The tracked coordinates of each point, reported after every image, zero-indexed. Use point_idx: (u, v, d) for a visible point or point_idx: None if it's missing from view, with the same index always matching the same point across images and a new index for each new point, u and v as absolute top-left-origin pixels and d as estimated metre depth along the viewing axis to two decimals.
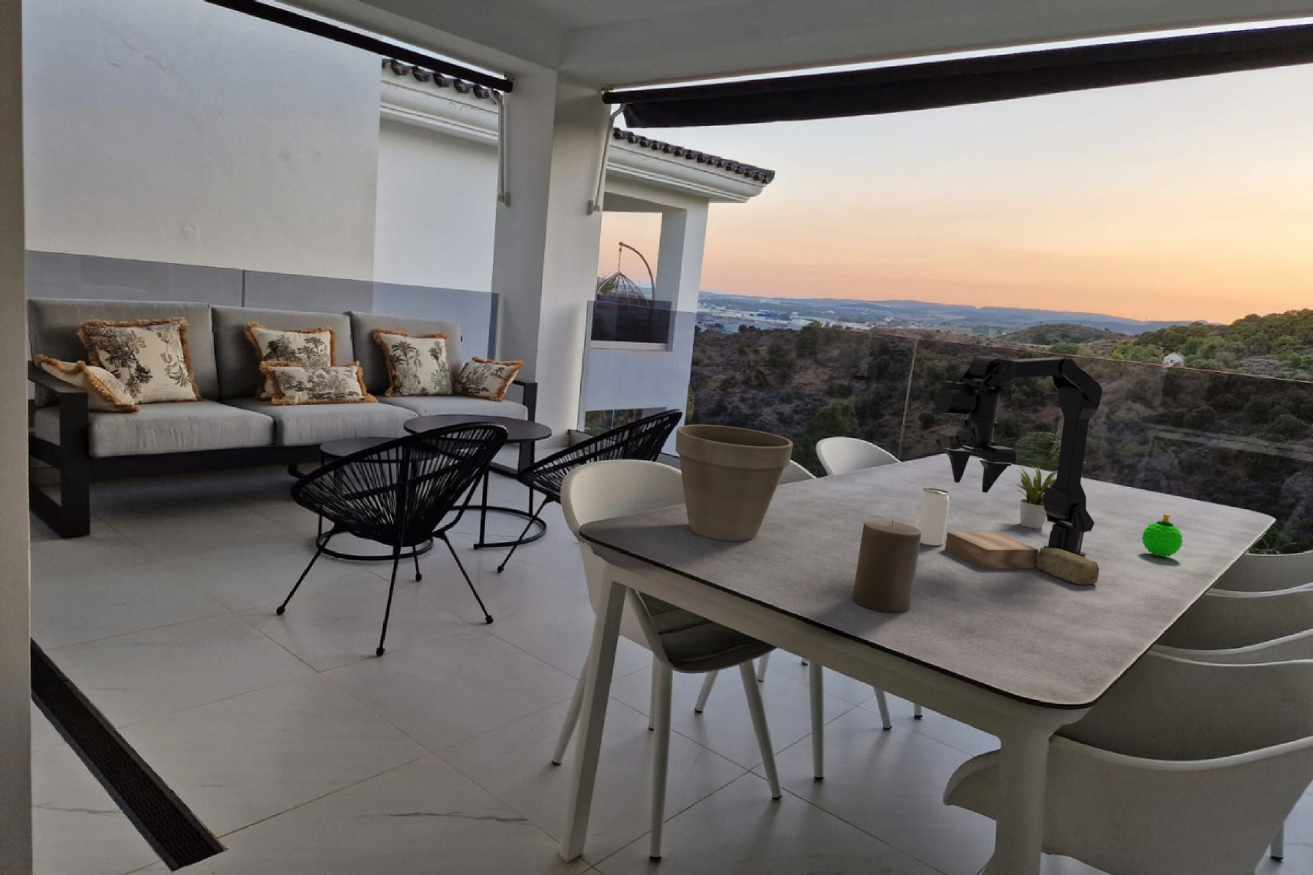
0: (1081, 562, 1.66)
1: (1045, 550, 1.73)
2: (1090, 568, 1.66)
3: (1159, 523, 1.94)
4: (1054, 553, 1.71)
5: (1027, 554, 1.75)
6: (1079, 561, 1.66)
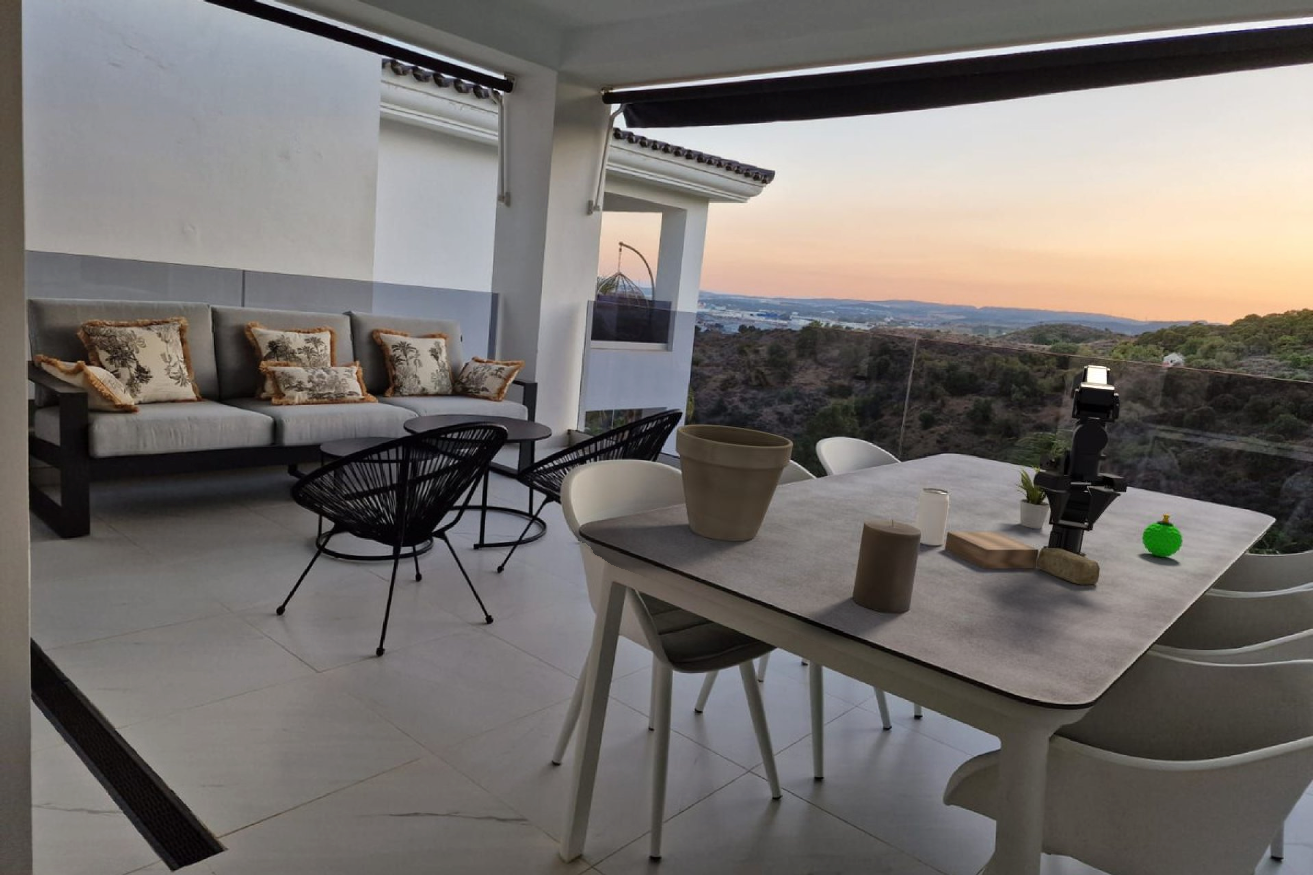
0: (1081, 562, 1.66)
1: (1046, 550, 1.73)
2: (1090, 568, 1.66)
3: (1159, 523, 1.94)
4: (1055, 553, 1.71)
5: (1027, 554, 1.75)
6: (1079, 561, 1.66)
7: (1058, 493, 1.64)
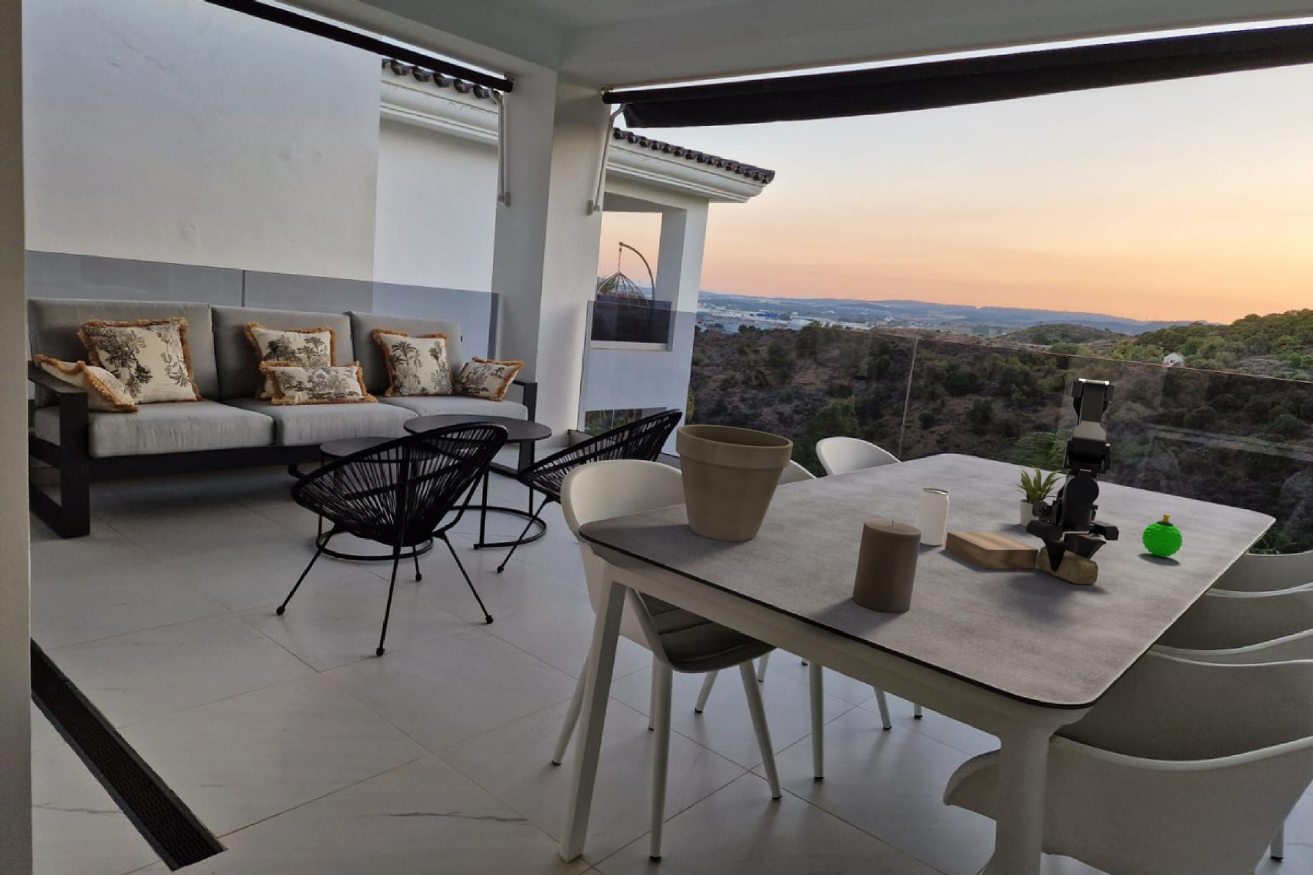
0: (1079, 561, 1.66)
1: (1045, 549, 1.73)
2: (1088, 568, 1.66)
3: (1159, 523, 1.94)
4: None
5: (1027, 554, 1.75)
6: (1077, 560, 1.66)
7: (1056, 543, 1.66)
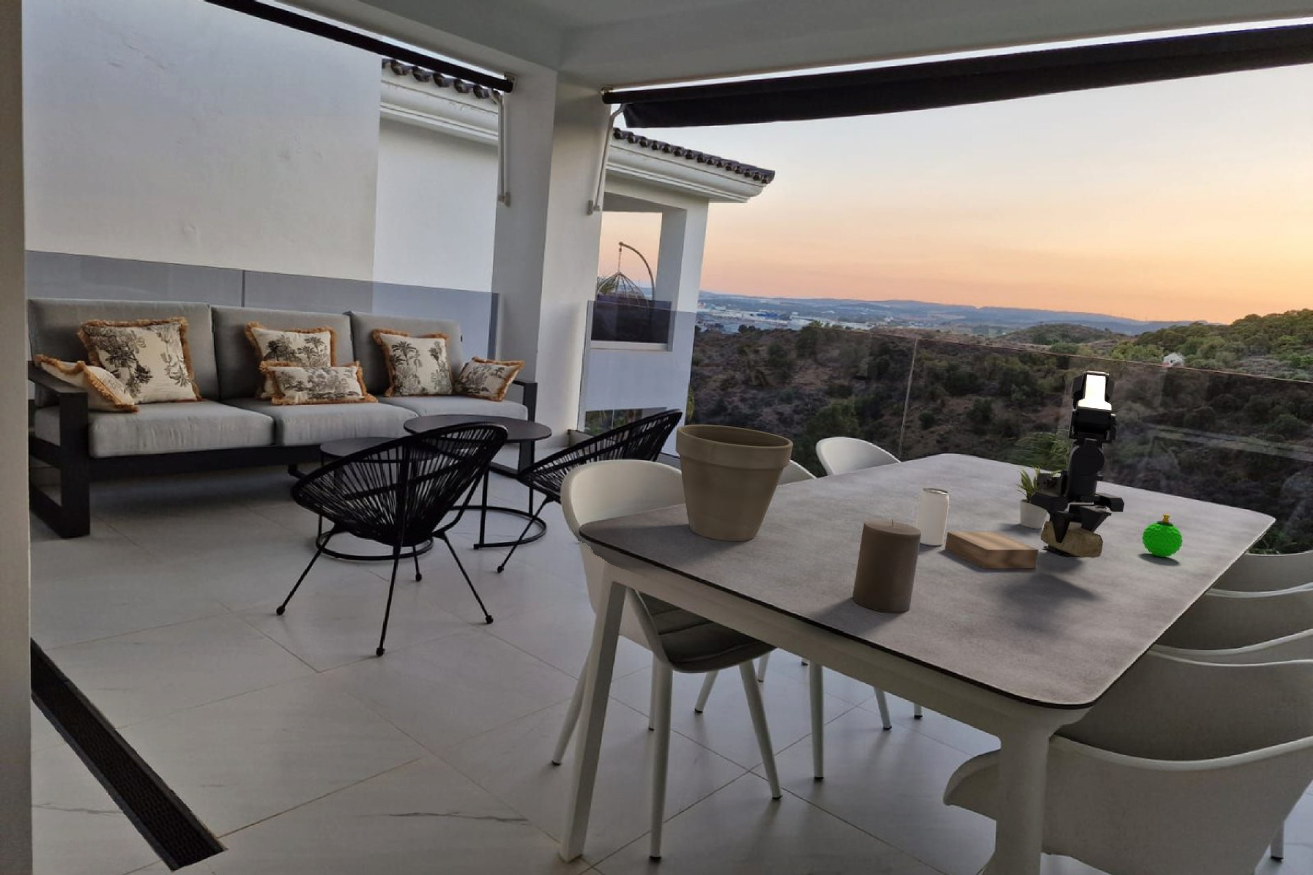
0: (1084, 534, 1.65)
1: (1050, 523, 1.72)
2: (1093, 541, 1.65)
3: (1159, 523, 1.94)
4: None
5: (1027, 554, 1.75)
6: (1082, 533, 1.65)
7: (1061, 513, 1.65)
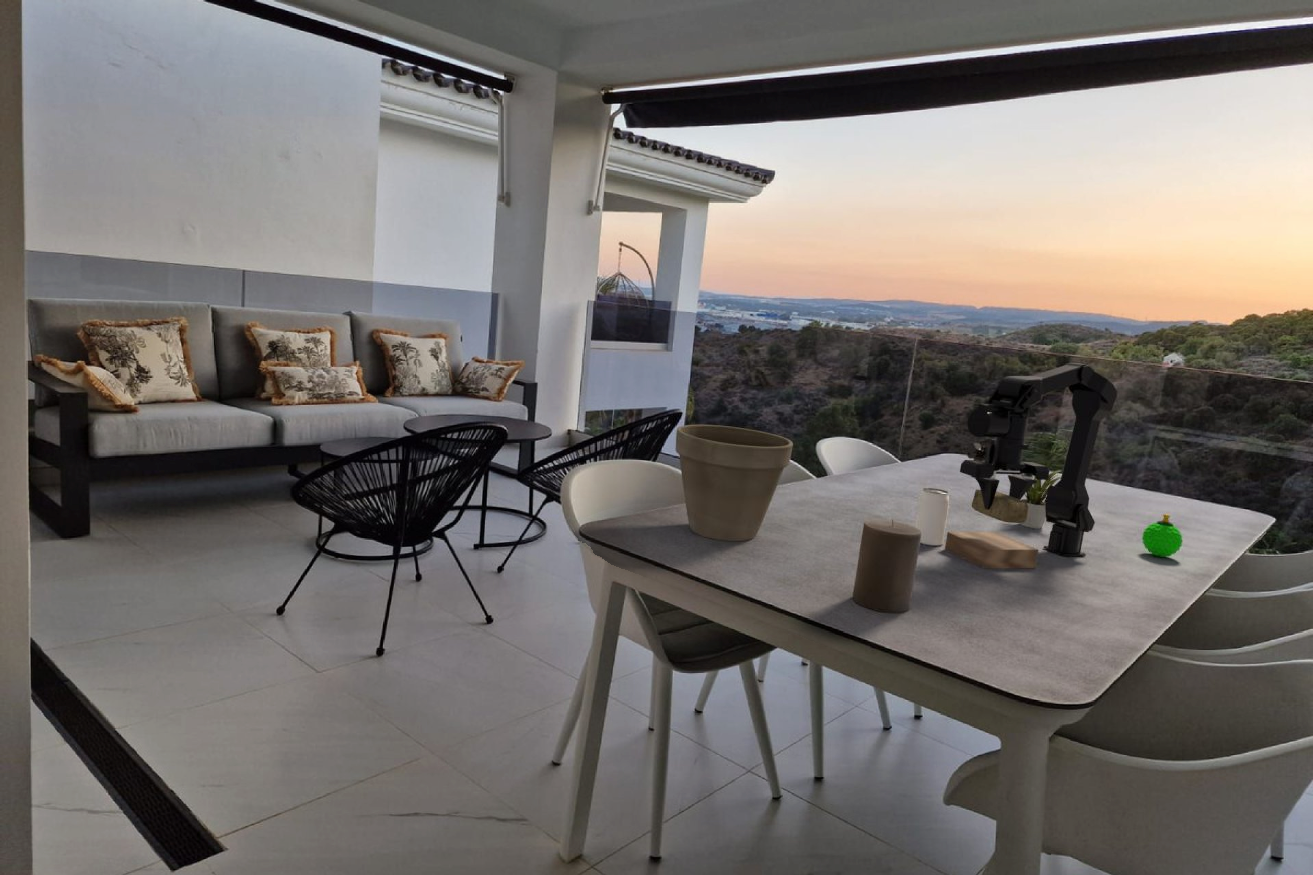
0: (1009, 501, 1.72)
1: (980, 491, 1.80)
2: (1018, 507, 1.72)
3: (1159, 523, 1.94)
4: None
5: (1027, 554, 1.75)
6: (1008, 500, 1.73)
7: (988, 480, 1.72)
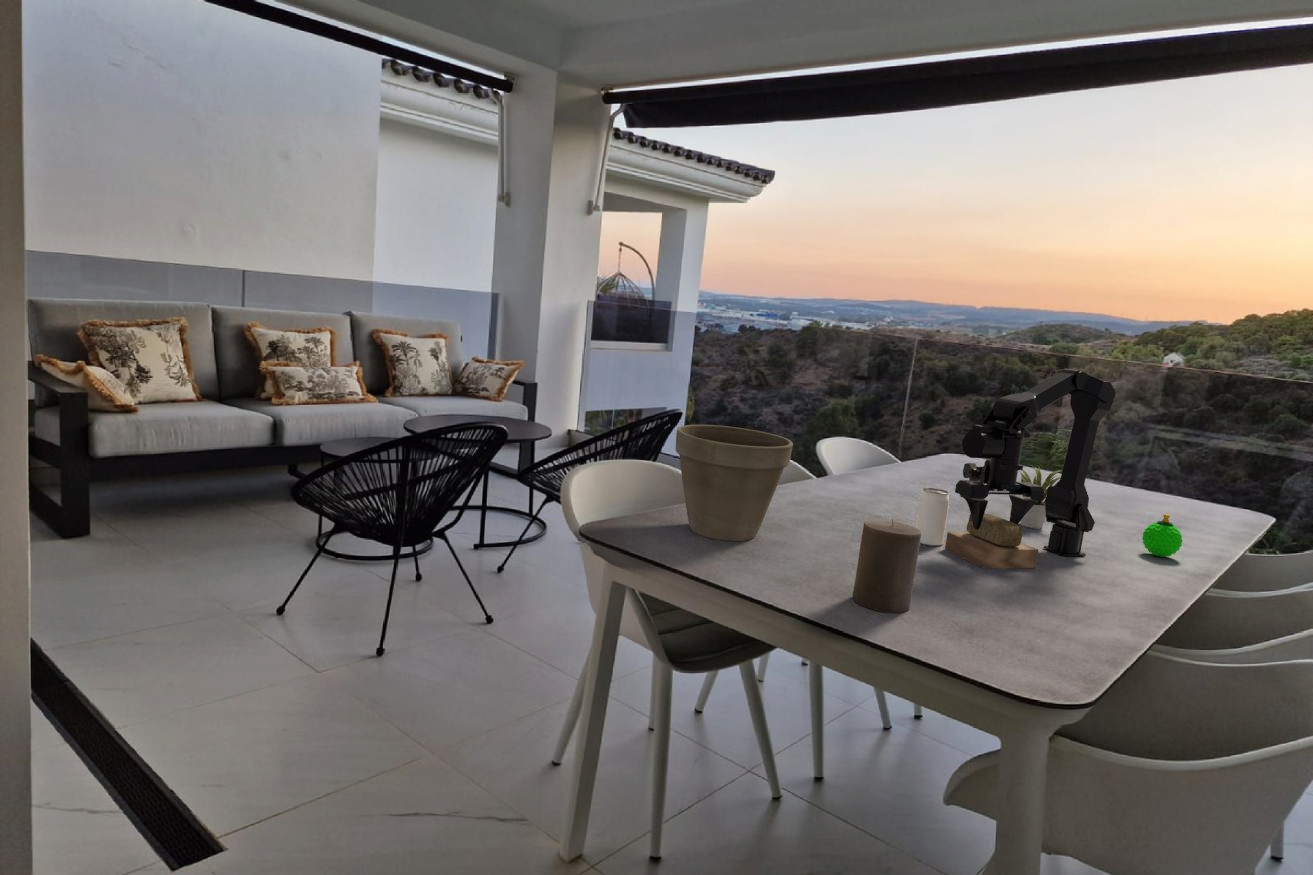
0: (1004, 524, 1.74)
1: None
2: (1012, 531, 1.74)
3: (1159, 523, 1.94)
4: None
5: (1027, 554, 1.75)
6: (1002, 524, 1.74)
7: (976, 501, 1.73)
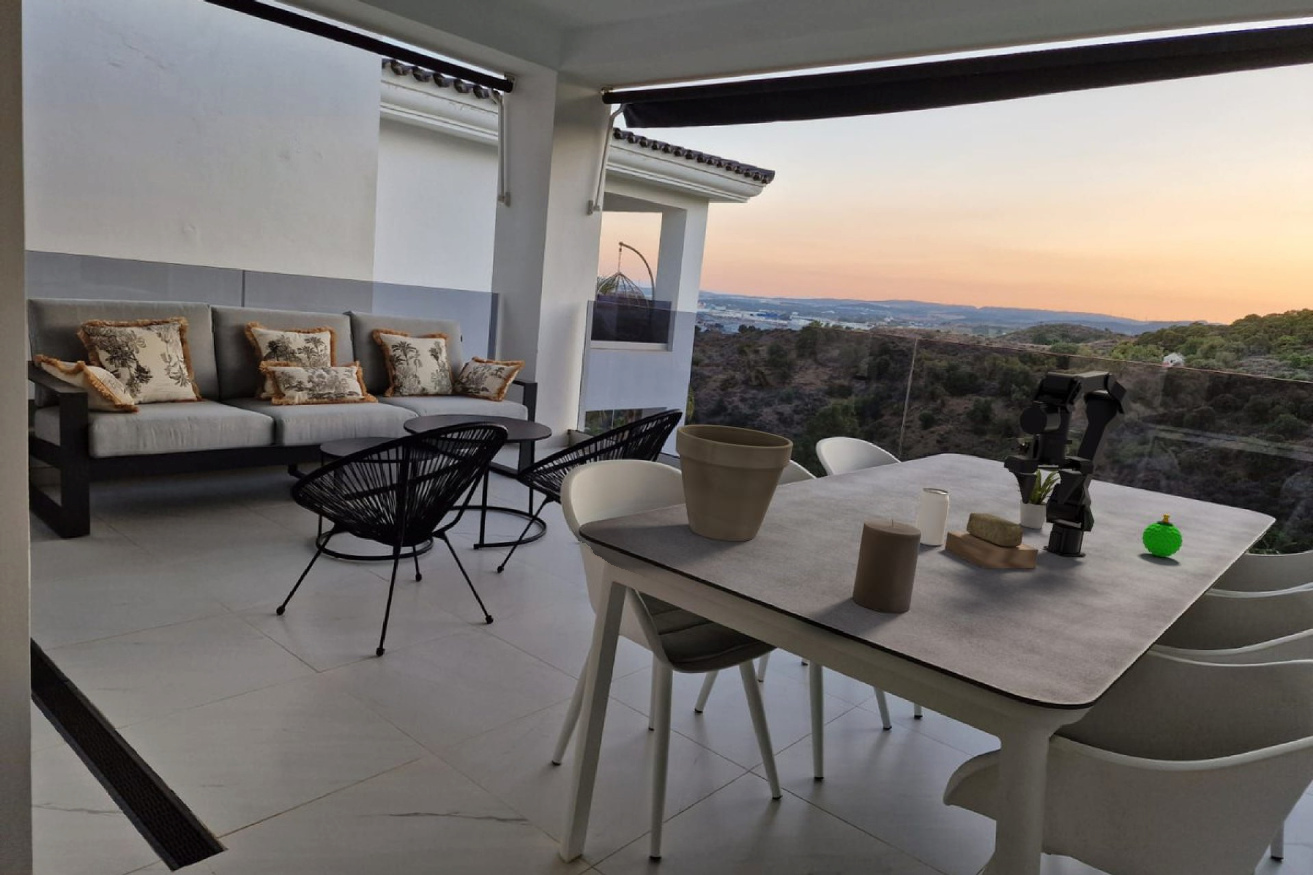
0: (1005, 525, 1.74)
1: (974, 515, 1.81)
2: (1014, 531, 1.74)
3: (1159, 523, 1.94)
4: (982, 517, 1.79)
5: (1027, 554, 1.75)
6: (1003, 524, 1.74)
7: (1026, 475, 1.74)
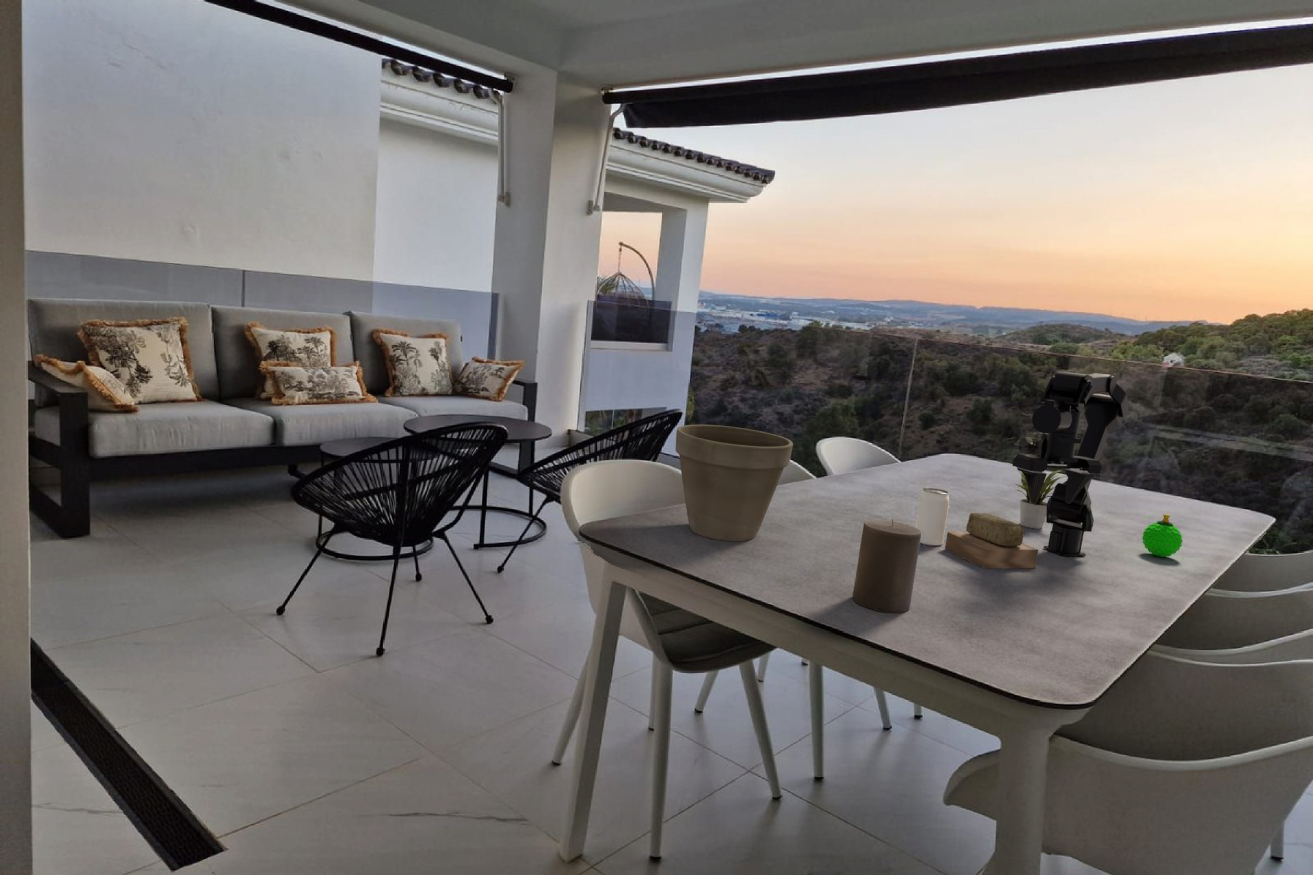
0: (1006, 525, 1.74)
1: (974, 515, 1.81)
2: (1015, 531, 1.74)
3: (1159, 523, 1.94)
4: (982, 517, 1.79)
5: (1027, 554, 1.75)
6: (1004, 524, 1.74)
7: (1035, 474, 1.74)
